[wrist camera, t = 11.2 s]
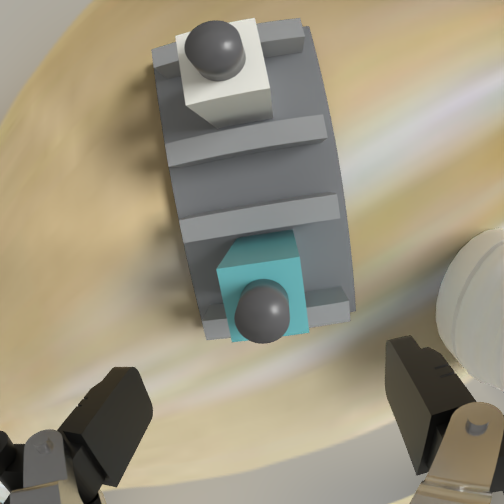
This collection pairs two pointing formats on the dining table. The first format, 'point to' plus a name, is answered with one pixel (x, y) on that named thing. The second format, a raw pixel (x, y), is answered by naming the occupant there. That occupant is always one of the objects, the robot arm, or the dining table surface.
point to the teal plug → (263, 288)
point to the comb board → (261, 178)
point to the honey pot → (475, 308)
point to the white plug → (225, 73)
